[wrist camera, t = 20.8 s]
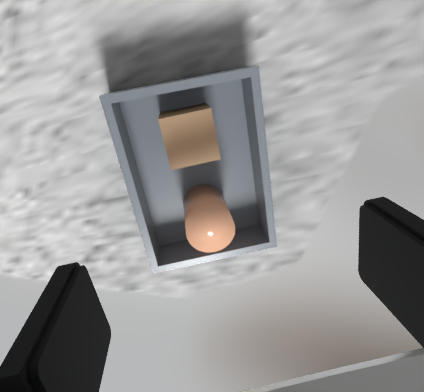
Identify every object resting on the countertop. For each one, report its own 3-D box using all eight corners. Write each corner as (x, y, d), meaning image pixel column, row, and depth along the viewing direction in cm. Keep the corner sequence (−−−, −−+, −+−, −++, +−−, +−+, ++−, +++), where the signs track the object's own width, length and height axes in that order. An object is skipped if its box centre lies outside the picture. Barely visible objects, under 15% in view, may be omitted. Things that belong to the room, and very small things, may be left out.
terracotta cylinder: (179, 188, 36) (181, 214, 30) (220, 180, 37) (231, 203, 30) (187, 225, 38) (191, 256, 32) (227, 217, 39) (238, 246, 32)
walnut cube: (159, 112, 33) (158, 119, 28) (205, 102, 33) (211, 108, 29) (171, 157, 35) (171, 170, 30) (214, 147, 35) (220, 159, 31)
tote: (264, 226, 41) (277, 246, 36) (154, 250, 40) (152, 273, 35) (246, 66, 33) (258, 66, 28) (109, 92, 32) (99, 96, 28)
